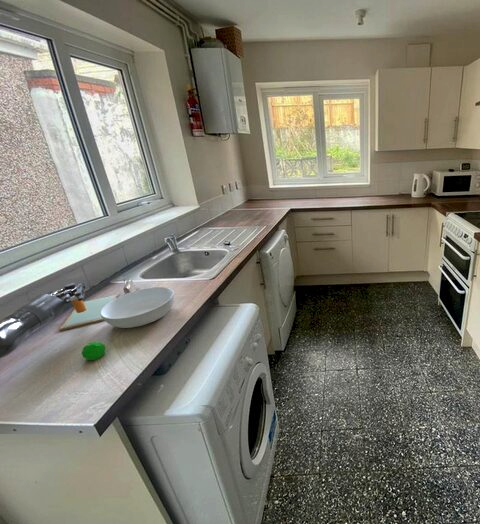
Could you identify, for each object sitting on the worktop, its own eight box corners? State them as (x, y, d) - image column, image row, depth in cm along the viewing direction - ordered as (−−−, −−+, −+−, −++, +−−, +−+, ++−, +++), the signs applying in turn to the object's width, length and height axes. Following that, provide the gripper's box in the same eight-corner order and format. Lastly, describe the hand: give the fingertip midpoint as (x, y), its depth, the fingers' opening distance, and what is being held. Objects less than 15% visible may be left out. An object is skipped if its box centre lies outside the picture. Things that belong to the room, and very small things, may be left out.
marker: (75, 313, 96) (62, 287, 92) (78, 310, 98) (65, 284, 95) (85, 311, 97) (73, 285, 93) (88, 308, 99) (75, 282, 96)
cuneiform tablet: (123, 278, 119) (117, 289, 109) (134, 275, 121) (129, 286, 111) (129, 290, 121) (124, 302, 112) (139, 287, 123) (135, 299, 113)
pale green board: (60, 332, 94) (59, 328, 94) (81, 305, 111) (79, 302, 111) (105, 321, 99) (104, 318, 99) (118, 297, 116) (117, 294, 115)
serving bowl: (90, 337, 91) (82, 319, 88) (138, 303, 110) (131, 287, 107) (154, 335, 90) (147, 317, 87) (190, 301, 109) (185, 285, 106)
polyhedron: (95, 364, 79) (88, 350, 77) (81, 363, 79) (73, 349, 78) (112, 352, 83) (106, 339, 81) (98, 351, 84) (92, 337, 82)
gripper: (59, 297, 81) (96, 273, 97) (1, 305, 79) (49, 279, 95) (71, 319, 84) (104, 293, 100) (15, 327, 82) (59, 299, 98)
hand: (77, 286), depth 97 cm, fingers closed on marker, 2 cm apart
